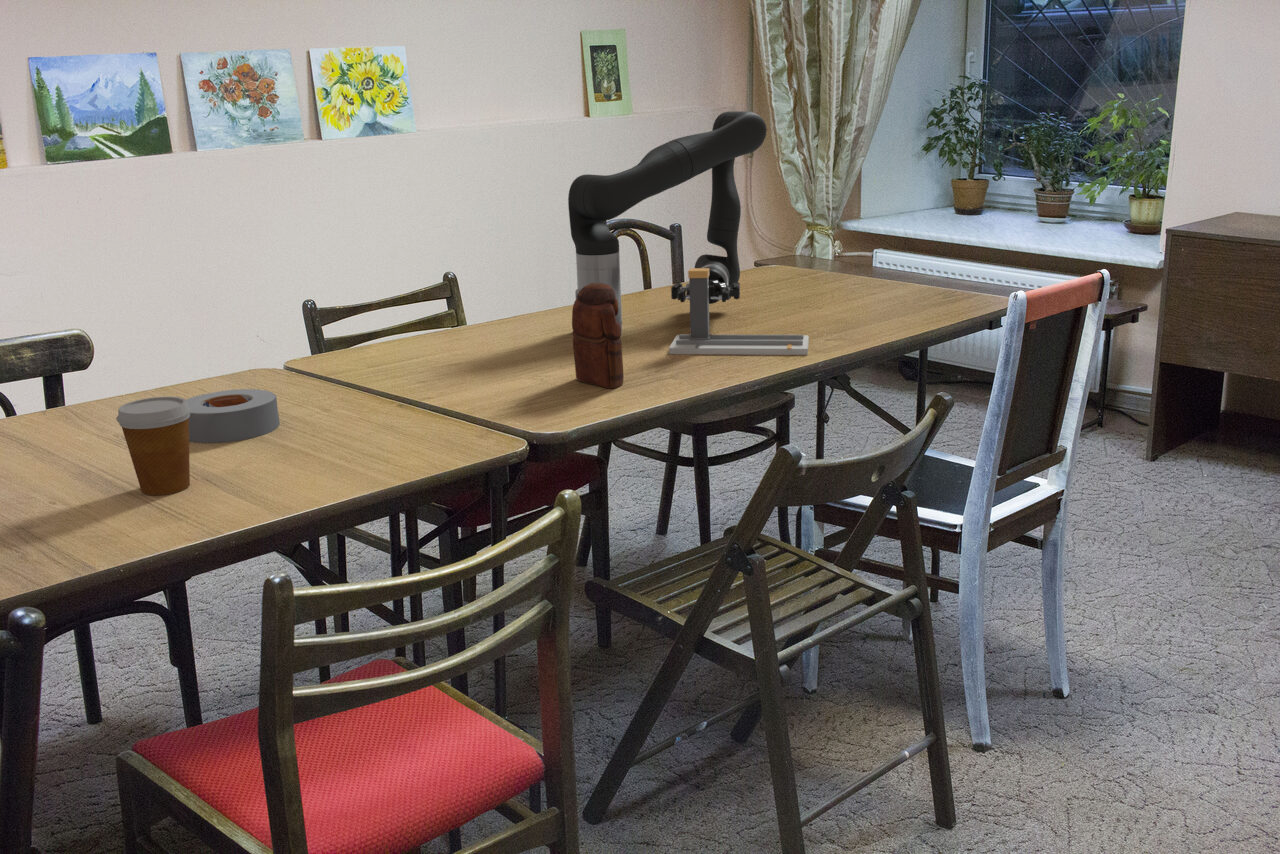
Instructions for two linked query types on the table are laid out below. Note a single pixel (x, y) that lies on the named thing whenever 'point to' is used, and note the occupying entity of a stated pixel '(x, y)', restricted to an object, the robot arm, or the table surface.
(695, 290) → the fader
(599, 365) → the wooden figurine
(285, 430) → the table surface
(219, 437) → the tape roll
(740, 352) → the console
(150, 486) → the disposable coffee cup
